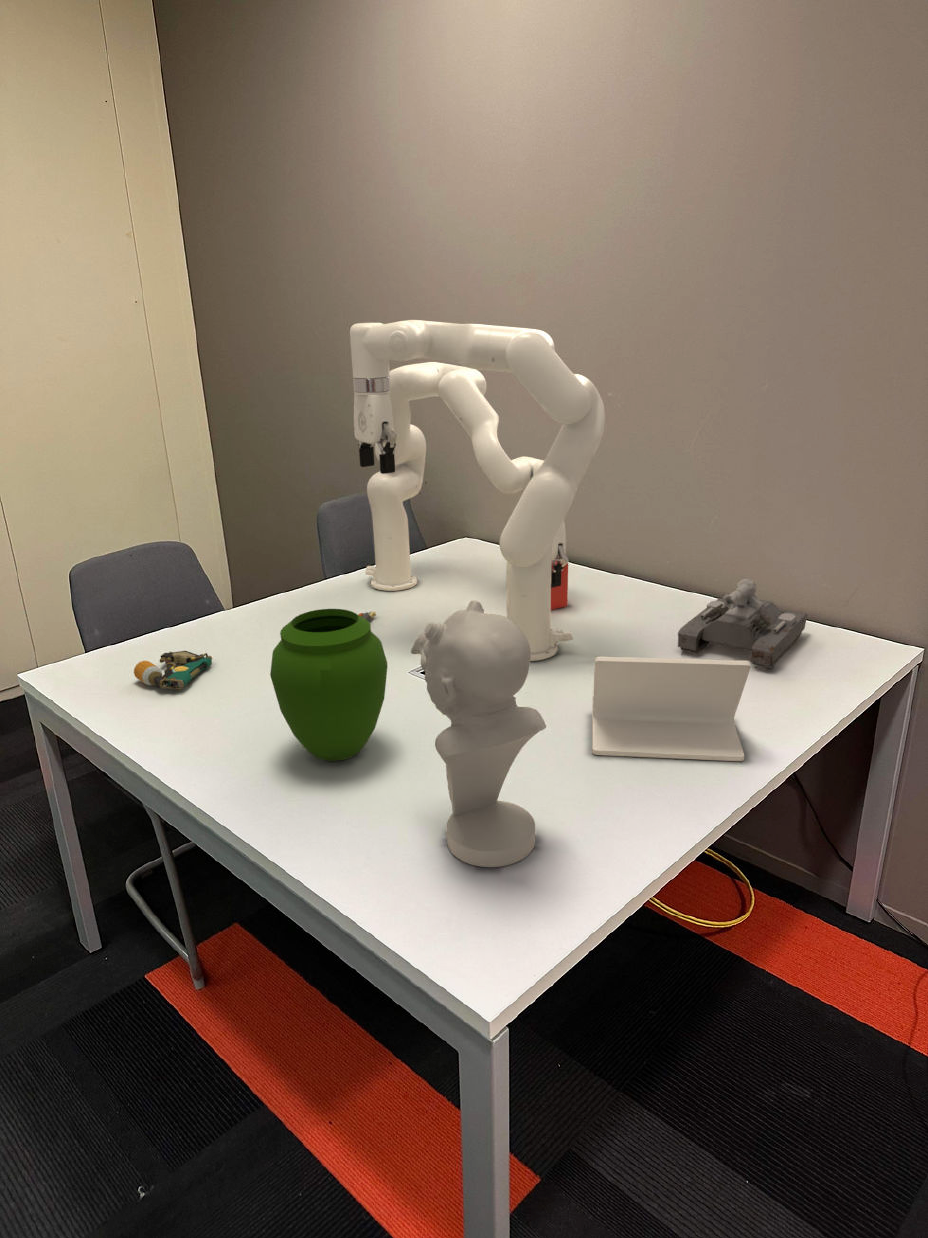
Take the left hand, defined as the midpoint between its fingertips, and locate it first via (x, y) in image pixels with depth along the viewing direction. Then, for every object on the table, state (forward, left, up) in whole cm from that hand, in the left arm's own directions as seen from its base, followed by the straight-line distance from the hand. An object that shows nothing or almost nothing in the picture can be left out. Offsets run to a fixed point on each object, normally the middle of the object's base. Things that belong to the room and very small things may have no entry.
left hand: (547, 582), depth 213 cm
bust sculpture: (+27, -95, -6) cm, 99 cm away
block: (0, 0, -6) cm, 6 cm away
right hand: (-24, -37, +33) cm, 55 cm away
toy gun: (-37, -34, -6) cm, 51 cm away
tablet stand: (+44, -53, -6) cm, 69 cm away
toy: (+49, -6, -6) cm, 50 cm away
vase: (-5, -83, -6) cm, 84 cm away
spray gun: (-55, -71, -6) cm, 90 cm away
